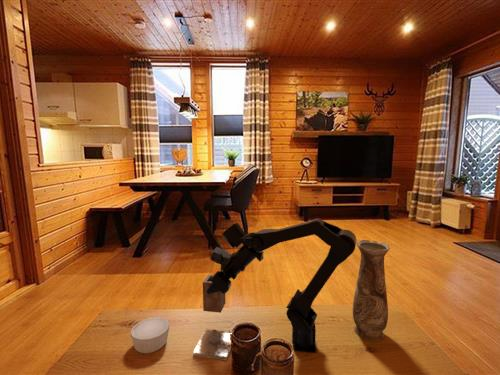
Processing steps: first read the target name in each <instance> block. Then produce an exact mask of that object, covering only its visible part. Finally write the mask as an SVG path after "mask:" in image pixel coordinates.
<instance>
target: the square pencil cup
mask: <svg viewBox="0 0 500 375" xmlns="http://www.w3.org/2000/svg"><path fill="white" fill-rule="evenodd" d="M213 275H214V274H208V275H207V276H206V277H205V279H204V280H203V281H202V306H203V312H209V313H222V310H224V307H225V305H226V293H225V294H222V292H221V291H219V292H215V293H211V294H208V293H207V292H206V291H207V290H208V288H209V287H210V286H211V284H212V282H211V280H210V279H211V278H212V276H213Z"/></svg>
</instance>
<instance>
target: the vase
mask: <svg viewBox="0 0 500 375" xmlns="http://www.w3.org/2000/svg"><path fill="white" fill-rule="evenodd" d="M356 246H357V248H358V250H359V251H360V264H359V268H358V276H357V280H356V284H355V285H356V286H355V290H354V294H353V295H354V296H353V303H352V317H353V318H352V319H353V322H354V324H355V326H354V332H355V334H356V335H357V336H359V338H361V339H363V340H366V341H370V342H380V341H382V340H383V339H384V338H385V333H384V331H385V330H386V328H387V325H388V321H389V307H388V296H387V295H388V294H387V293H388V292H387V284H386V274H385V272H386V271H385V257H386V254H387V253H388V252H389V250H390V249H391V247H390V245H389V244H388V243H386V242H378V241H376V240H373V241H370V240H369V239H361V240H359V241H356Z"/></svg>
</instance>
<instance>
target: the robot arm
mask: <svg viewBox="0 0 500 375" xmlns="http://www.w3.org/2000/svg"><path fill="white" fill-rule="evenodd" d="M310 236H316V237H318V238H319V239H320V240H322V241H323V242H324V244H326V245H327V246H329V247H330V248H329V249H328V253H327V255H326V256H325V259H324V260H323V261H322V263H321V265H320V266H319V267H318V269H317V270H316V271H315V273H314V275H313V277H312V278H311V280H310V281H309V282H308V284H307V285H306V287H305V288H304V289H303V290H302V291H301V290H300V289H299V288H297V289H296V291H295V293H294V295H293V296H292V297H291V298H290V301H289V302H288V303H287V305H286V307H285V308H286V309H287V310H286V317H287V319H288V320H289V321H290V324H291V327H292V328H291V329H292V330H291V332H292V333H291V334H292V335H291V336H292V337H291V338H292V339H291V340H292V341H291V344H293V350H294V351H296V352H297V351H298V352H305V353H306V352H307V353H313V354H314V353H316V352H317V346H316V332H317V330H316V323H315V321H317V320H316V319H317V316H318V314H317V313H316V311H315V310H314V309H313V308H312V305H313V302H314V301H315V299H316V298H317V296H318V295H319V294H320V292H321V291H322V289H323V288H324V287H325V285H326V283H327V282H328V280H329V279H330V277H331V276H332V274H333V273H334V272H335V270H336V269H337V268H338V266H339V265H341V264H342V263H343V262H345V261H346V260H347V259H348V258H349V257H350V256H352V254H353V253H355V250H356V246H357V237H356V234H355V233H354V232H353V231H352V230H350V229H345V228H344V229H343V228H340V227H339V226H337V225H334V224H332V223H329V222H327V221H325V220H323V219H321V218H314V219H312V220H310V221H305V222H300V223H297V224H294V225H289V226H285V227H282V228H263V229H260V230H258V231H255V232H253V231H252V232H249V233H246V232H245V230H244V229H243V228H242V227H241V225H240V224H239V222H234V223H233V224H231V225H230V226H229V227H228V228H227V229H225V230H224V231H222V233H221V237H222V238H224V240H225V241H226V242H227V243H228V245H229V246H230V247H231V249H238V250H237V251H235V252H232V253H229V252H228V251H227V250H224V249H222V248H220V247H218V246H216V247H215V248H214V249H213V251H212V253H211V254H210V257H209V260H210V261H211V262H214V263H216V264H219V265H220V270H217V271H216V272H215V273H214V274H212V275H213V276H212V278H211V279H210V280H211V282H212V284H211V286H210V287H209V288H208V290H207V291H206V292H207V293H208V294H211V293H215V292H219V291H221V292H222V294H225V295H226V293H228V292H229V291H230V289H231V286H232V281H231V279H232V280H233V281H235V279H236V278H237V276H238V275H239V274H240V273H241V272H244V271H245V270H246V268H247V267H248V266H249V264H251V263H252V262H253V261H254V260H255V259H257V261H258V262H261V261H263V259H264V254H265V253H264V251H266V250H268V249H271V248H272V247H273V246H276V245H278V244H280V243H284V242H288V241H289V242H290V241H292V240H297V239H302V238H305V237H310Z"/></svg>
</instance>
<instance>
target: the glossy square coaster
mask: <svg viewBox="0 0 500 375" xmlns="http://www.w3.org/2000/svg"><path fill="white" fill-rule="evenodd" d="M230 334H231V333H230V332H229V333H228V332H220V331H219V330H217V329H213V330H204V331H203V333H202V335H201V337H200V339H199V341H198V343H197V345H196V346H195V348H194V350H193V352H192V356H194V357H200V358H208V359H216V360H222V361H223V360H224V361H227V360H228V357H229V354H230V351H231V348H232V346H231V341H230Z"/></svg>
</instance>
